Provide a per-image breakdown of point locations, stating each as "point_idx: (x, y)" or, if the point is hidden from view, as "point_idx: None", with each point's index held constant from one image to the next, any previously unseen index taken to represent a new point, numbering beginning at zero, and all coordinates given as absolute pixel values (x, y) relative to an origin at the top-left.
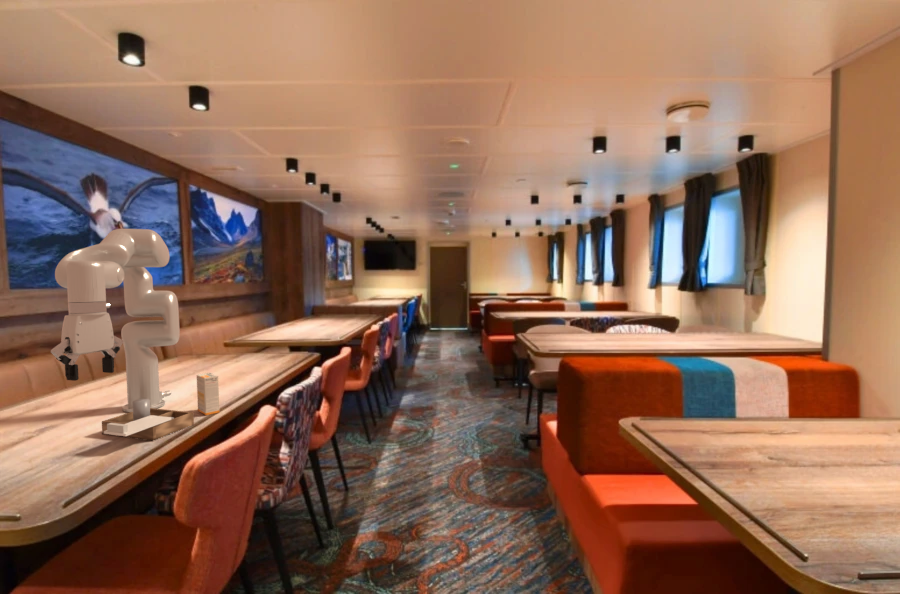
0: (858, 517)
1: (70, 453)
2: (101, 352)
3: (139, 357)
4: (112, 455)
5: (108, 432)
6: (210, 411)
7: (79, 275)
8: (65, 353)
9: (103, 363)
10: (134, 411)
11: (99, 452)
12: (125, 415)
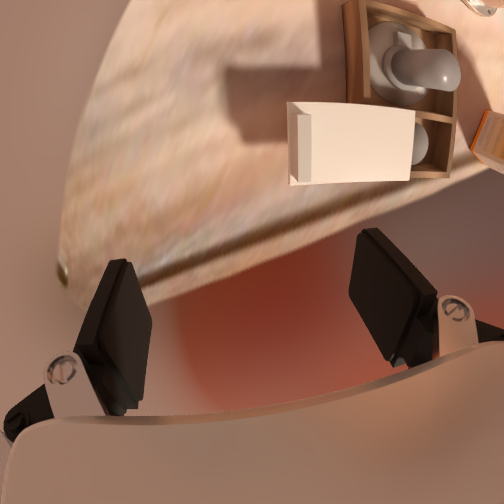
0: None
1: (226, 49)
2: (436, 350)
3: None
4: (253, 161)
5: (288, 120)
6: (478, 156)
7: None
8: (49, 428)
9: (387, 280)
10: (414, 63)
11: (255, 111)
12: (410, 18)
